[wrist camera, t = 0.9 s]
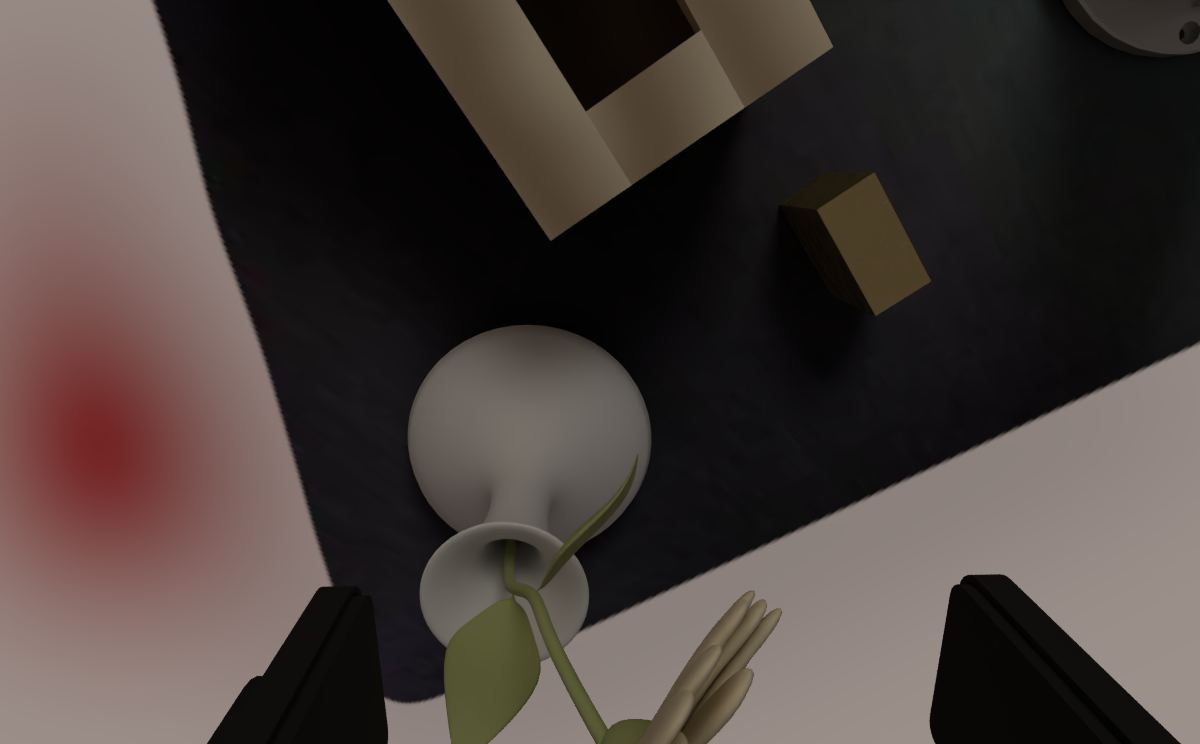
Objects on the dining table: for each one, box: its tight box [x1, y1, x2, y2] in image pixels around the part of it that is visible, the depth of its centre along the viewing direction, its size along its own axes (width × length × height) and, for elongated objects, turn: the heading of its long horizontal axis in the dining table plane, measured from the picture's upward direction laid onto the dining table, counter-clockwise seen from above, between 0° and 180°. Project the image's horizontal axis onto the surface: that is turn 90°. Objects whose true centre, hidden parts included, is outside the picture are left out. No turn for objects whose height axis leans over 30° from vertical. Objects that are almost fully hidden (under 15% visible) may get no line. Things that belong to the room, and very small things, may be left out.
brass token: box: [779, 172, 931, 316], centre depth 29 cm, size 2×5×5 cm, turn 34°
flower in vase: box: [408, 325, 782, 744], centre depth 21 cm, size 13×11×25 cm
